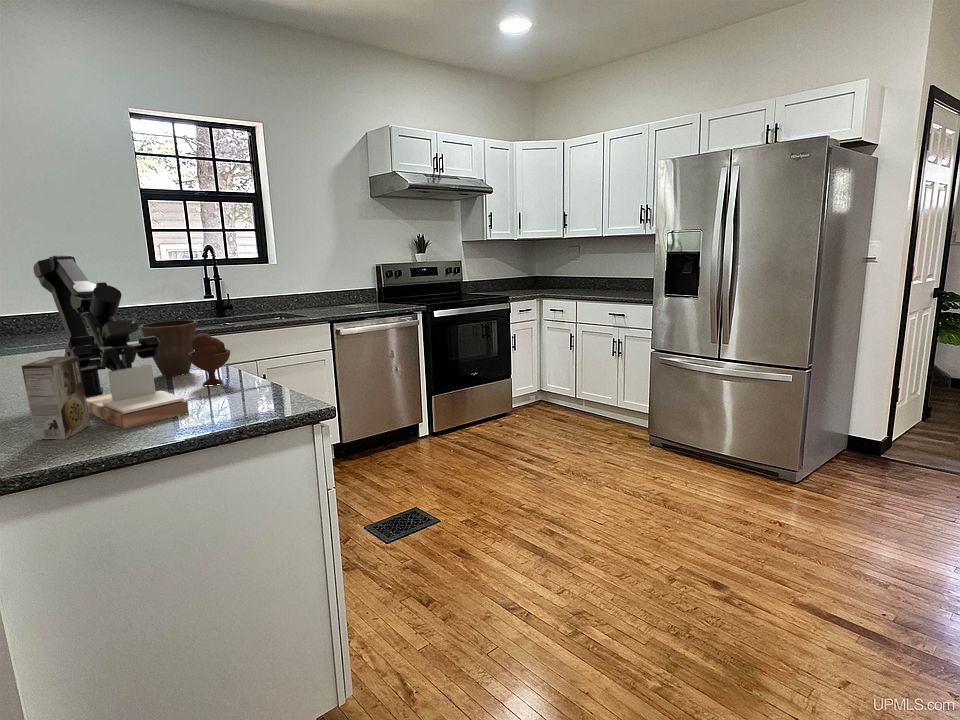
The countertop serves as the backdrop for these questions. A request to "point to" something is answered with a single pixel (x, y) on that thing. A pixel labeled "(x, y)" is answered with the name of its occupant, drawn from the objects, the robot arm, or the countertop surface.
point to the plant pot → (172, 345)
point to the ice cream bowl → (208, 355)
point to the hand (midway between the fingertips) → (130, 378)
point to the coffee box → (56, 397)
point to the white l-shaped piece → (136, 390)
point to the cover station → (134, 417)
